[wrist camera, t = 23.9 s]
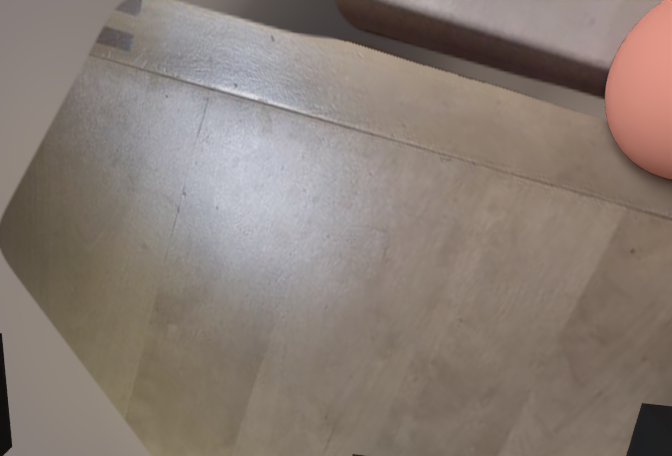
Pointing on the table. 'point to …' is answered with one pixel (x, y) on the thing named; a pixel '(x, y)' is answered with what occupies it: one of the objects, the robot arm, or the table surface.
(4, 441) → the robot arm
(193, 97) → the table surface
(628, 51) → the sugar bowl
